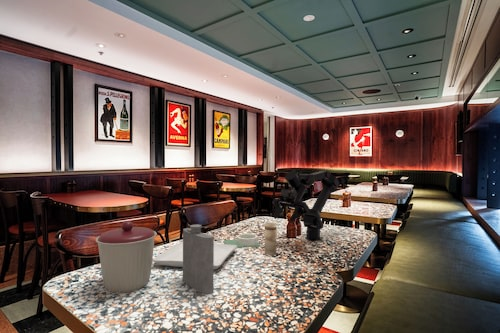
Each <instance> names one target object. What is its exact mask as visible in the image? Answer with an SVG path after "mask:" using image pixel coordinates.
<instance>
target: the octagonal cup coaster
mask: <svg viewBox="0 0 500 333" xmlns="http://www.w3.org/2000/svg"><path fill="white" fill-rule="evenodd" d="M223 244H227V245H236V246H237V248H236V249H240V248H242V249H243V248H253V247H256V248H257V247H261V244H260V243H259V236H258V235H257V234H255V233H254V234H253V233H241V234H238V235H237V236H236V239H227V240H223Z"/></svg>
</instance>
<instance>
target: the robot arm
mask: <svg viewBox="0 0 500 333" xmlns="http://www.w3.org/2000/svg"><path fill="white" fill-rule="evenodd" d="M284 179H285V181H286V182H287V184H288V186H289V187H290V188H291V189H286V188H285V189H283V188H282V189H281V191H280V195H279V197H282V198H283V200H284V201H283V200H282V198H273V200H272V204H273V206H274V207H275V209H274V216H273V219H274V220H276V219H278V217H279V216H280V215H281V214H282V213H283V212H284V209H285V208H286V207H287V208H290V209H294V211H293V212H292V214H291V216H290V218H289V223H292V222H294V221H295V220H297V219H298V218H300V217H302V216H303V217H302V222H303V227H305V228H306V231H305V232H306V234H305V235H306V236H305V239H306V240H309V241H311V242H314V241H315V242H317V241H321V240H323V238H321V230H322V229H324V223H323V221H322V214H321V213H322V211H323V209H324V207H325V206H326V203H327V201H328V199H329V197H330V196H331V194H333V193H335V191H336V190H337V188H338V187H339V185H340V181H339V179H338V178H337V176H336V175H333V174H332V173H331V172H330V171H329V170H319V171H316V172H312V173H299V174H298V171H297V170H293V169H292V170H291V171H290V172H288V173H287V174H285V176H284ZM317 181H320V182H321V187H322V188H321V191H320V193H319V195H318V196H317V198H316V200H315V202H314V204H313V205H312V207H311V208H310V207H309V206H308V204H307V203H306V201H303V196H304V194H308V193H309V191H308V188H307V187H308V186H309V187H310V186H312V185H314V184H315V182H317ZM306 186H307V187H306Z"/></svg>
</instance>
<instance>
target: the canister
mask: <svg viewBox="0 0 500 333" xmlns="http://www.w3.org/2000/svg"><path fill="white" fill-rule="evenodd" d="M156 237H157V232H156V231H155V230H153V229H152V228H148V227H144V226H143V227H142V226H134V223H133V222H132V221H130V220H129V221H127V220H126V221H123V222H122V223H121V226H120V227H119V228H115V229H110V230H107V231H105V232H103V233H101V234H100V235H98V236H97V237H96V238H95V240H94V241H95V242H96V243H97V246H98V253H99V254H98V256H99V262H100V269H101V276H102V282H103V286H104V287H105V289H106V290H107V291H109V292H111V293H115V294H116V293H117V294H118V293H120V294H122V293H128V292H133V291H137V290H139V289H142V288H143V287H145V286H146V285H147V284H148V283H149V280H150V278H151V273H152V266H153V261H152V259H153V257H154V250H155V247H154V246H155V238H156Z"/></svg>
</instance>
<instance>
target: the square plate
mask: <svg viewBox="0 0 500 333" xmlns="http://www.w3.org/2000/svg"><path fill="white" fill-rule="evenodd" d="M236 249H238V248H237V246H236V245H227V244H225V243H217V242H216V243H215V242H214V270H218V269H219V268H220V267H221V266H222V265H223V263H224V262H225V261H226V260H227V259H228V257H230V256H231V255H232V254H233V253H234V252H235V250H236ZM152 263H155V264H157V265H159V266H167V267H173V268H174V267H175V268H176V267H177V268H183V241H180V242H179V243H177V244H175V245H173V246H171V247H169V248H167V249H166V250H164V251H163V252H161V253H160V254H157V255H156V256H155V257H154V258H153V259H152Z"/></svg>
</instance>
